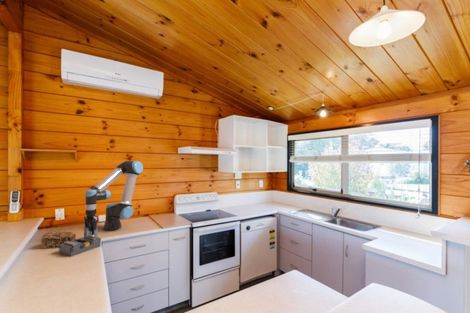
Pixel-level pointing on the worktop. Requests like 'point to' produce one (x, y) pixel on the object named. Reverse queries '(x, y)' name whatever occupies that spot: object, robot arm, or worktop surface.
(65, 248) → the rack
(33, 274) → the worktop surface
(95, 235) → the block
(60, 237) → the bread
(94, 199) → the robot arm
